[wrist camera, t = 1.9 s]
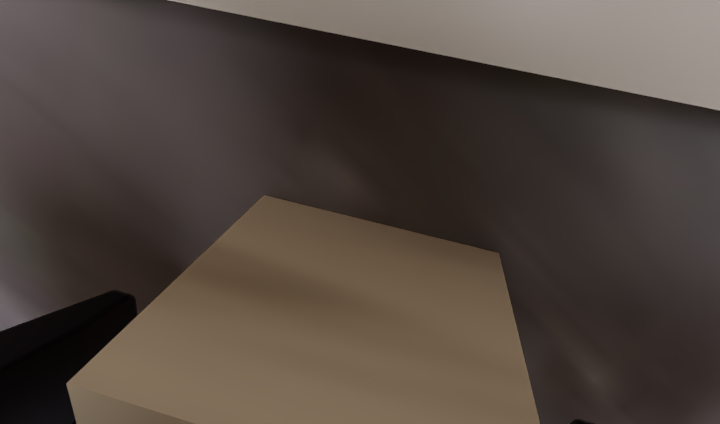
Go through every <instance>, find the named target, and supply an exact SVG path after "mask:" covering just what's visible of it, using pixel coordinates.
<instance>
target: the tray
mask: <svg viewBox="0 0 720 424" xmlns="http://www.w3.org/2000/svg"><path fill="white" fill-rule="evenodd" d="M169 1H174V2H179V3H184V4H189V5H194V6H199V7H204V8H210V9H215V10H220V11H225V12H230V13H235V14H240V15H245V16H250V17H255V18H260V19H265V20H270V21H275V22H280V23H285V24H290V25H295V26H300V27H305V28H310V29H315V30H320V31H325V32H330V33H335V34H340V35H345V36H350V37H355V38H360V39H365V40H370V41H375V42H380V43H385V44H390V45H395V46H400V47H405V48H410V49H415V50H420V51H425V52H430V53H435V54H440V55H445V56H450V57H455V58H460V59H465V60H470V61H475V62H480V63H485V64H490V65H495V66H500V67H505V68H510V69H515V70H520V71H525V72H530V73H535V74H540V75H545V76H550V77H555V78H560V79H565V80H570V81H575V82H580V83H585V84H590V85H595V86H600V87H605V88H610V89H615V90H620V91H625V92H630V93H635V94H640V95H645V96H650V97H655V98H660V99H665V100H670V101H675V102H680V103H685V104H690V105H695V106H700V107H705V108H710V109H715V110H720V0H169Z"/></svg>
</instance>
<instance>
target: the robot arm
mask: <svg viewBox="0 0 720 424" xmlns="http://www.w3.org/2000/svg"><path fill="white" fill-rule="evenodd" d="M136 317H137V308H136V300H135V298H134V296H133V295H131V294H128V293H124V292H121V291H110V292H107V293H104V294H101V295H99V296H96V297H93V298H90V299H88V300H85V301H82V302H80V303H77V304H74V305H71V306H69V307H66V308H63V309H60V310H58V311H55V312H52V313H50V314H47V315H44V316H41V317H39V318H36V319H33V320H30V321H28V322H25V323H22V324H19V325H17V326H14V327H11V328H9V329H6V330H3V331H0V424H76V420H75V416H74V412H73V408H72V404H71V400H70V396H69V392H68V388H67V385H66V383H67V382H68V381H69V380H70V379H72V378H73V377H74V376H75V375H76V374H77V373H78V372H79V371H80V370H81V369H82V368H83V367H84V366H85V365H86V364H87V363H88V362H89V361H90V360H91V359H92V358H94V357H95V356H96V355H97V354H98V353H99V352H100V351H101V350H102V349H103V348H104V347H105V346H106V345H107V344H108V343H109V342H110V341H111V340H112V339H113V338H115V337H116V336H117V335H118V334H119V333H120V332H121V331H122V330H123V329H124V328H125V327H126V326H127V325H128V324H129V323H130V322H131V321H132V320H133V319H134V318H136ZM570 424H594V423H591V422H587V421H584V420H580V419H575V420H573V421H572V422H571V423H570Z"/></svg>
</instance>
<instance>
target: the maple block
mask: <svg viewBox="0 0 720 424" xmlns="http://www.w3.org/2000/svg"><path fill="white" fill-rule="evenodd" d="M66 385H67V388H68V392H69V396H70V400H71V404H72V408H73V412H74V416H75V420H76V424H540V421H539V417H538V413H537V409H536V404H535V400H534V396H533V392H532V388H531V384H530V380H529V376H528V371H527V367H526V363H525V359H524V355H523V351H522V347H521V343H520V338H519V334H518V330H517V326H516V322H515V318H514V314H513V309H512V305H511V301H510V297H509V293H508V289H507V285H506V281H505V276H504V272H503V268H502V264H501V260H500V256H499V253H497V252H493V251H489V250H485V249H480V248H476V247H472V246H468V245H464V244H460V243H456V242H452V241H448V240H444V239H440V238H436V237H432V236H428V235H424V234H420V233H416V232H412V231H408V230H404V229H399V228H395V227H391V226H387V225H383V224H379V223H375V222H371V221H367V220H363V219H359V218H355V217H351V216H347V215H343V214H339V213H335V212H331V211H327V210H323V209H318V208H314V207H310V206H306V205H302V204H298V203H294V202H290V201H286V200H282V199H278V198H274V197H270V196H266V195H264V196H263V197H261V198H260V199H259V200H258V201H257V202H256V203H255V204H254V205H253V206H252V207H251V208H250V209H249V210H248V211H247V212H246V213H245V214H244V215H243V216H242V217H240V218H239V219H238V220H237V221H236V222H235V223H234V224H233V225H232V226H231V227H230V228H229V229H228V230H227V231H226V232H225V233H224V234H223V235H222V236H221V237H219V238H218V239H217V240H216V241H215V242H214V243H213V244H212V245H211V246H210V247H209V248H208V249H207V250H206V251H205V252H204V253H203V254H202V255H201V256H200V257H199V258H197V259H196V260H195V261H194V262H193V263H192V264H191V265H190V266H189V267H188V268H187V269H186V270H185V271H184V272H183V273H182V274H181V275H180V276H179V277H178V278H176V279H175V280H174V281H173V282H172V283H171V284H170V285H169V286H168V287H167V288H166V289H165V290H164V291H163V292H162V293H161V294H160V295H159V296H158V297H157V298H155V299H154V300H153V301H152V302H151V303H150V304H149V305H148V306H147V307H146V308H145V309H144V310H143V311H142V312H141V313H140V314H139V315H138V316H137V317H136V318H134V319H133V320H132V321H131V322H130V323H129V324H128V325H127V326H126V327H125V328H124V329H123V330H122V331H121V332H120V333H119V334H118V335H117V336H116V337H115V338H113V339H112V340H111V341H110V342H109V343H108V344H107V345H106V346H105V347H104V348H103V349H102V350H101V351H100V352H99V353H98V354H97V355H96V356H95V357H94V358H92V359H91V360H90V361H89V362H88V363H87V364H86V365H85V366H84V367H83V368H82V369H81V370H80V371H79V372H78V373H77V374H76V375H75V376H74V377H73V378H72V379H70V380H69V381H68V382H67V383H66Z"/></svg>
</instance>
